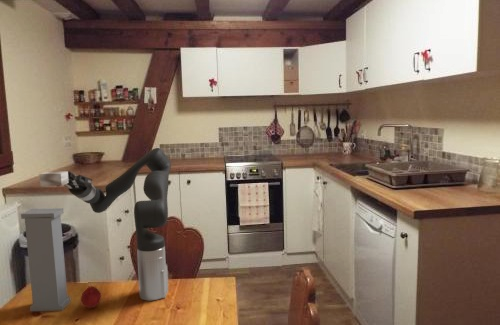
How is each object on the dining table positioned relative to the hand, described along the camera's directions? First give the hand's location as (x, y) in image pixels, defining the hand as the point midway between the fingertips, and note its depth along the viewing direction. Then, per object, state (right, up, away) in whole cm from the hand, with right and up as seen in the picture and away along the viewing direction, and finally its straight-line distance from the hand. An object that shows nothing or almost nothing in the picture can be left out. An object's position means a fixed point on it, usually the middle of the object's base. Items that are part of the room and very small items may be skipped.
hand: (63, 174), depth 129 cm
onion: (+15, -43, -11) cm, 47 cm away
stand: (+1, -43, -10) cm, 44 cm away
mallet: (0, -3, -2) cm, 3 cm away
